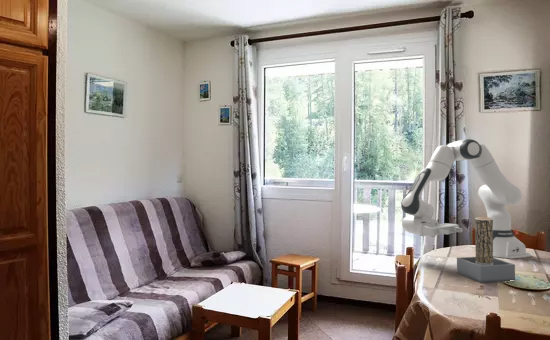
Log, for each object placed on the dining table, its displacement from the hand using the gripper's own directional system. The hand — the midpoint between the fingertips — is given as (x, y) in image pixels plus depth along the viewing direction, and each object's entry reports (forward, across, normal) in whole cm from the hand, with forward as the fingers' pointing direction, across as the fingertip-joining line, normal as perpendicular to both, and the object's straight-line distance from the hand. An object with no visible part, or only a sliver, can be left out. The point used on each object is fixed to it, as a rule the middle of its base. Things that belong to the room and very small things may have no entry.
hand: (455, 231), depth 181 cm
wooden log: (+14, +1, -17) cm, 22 cm away
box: (+14, 0, -18) cm, 23 cm away
